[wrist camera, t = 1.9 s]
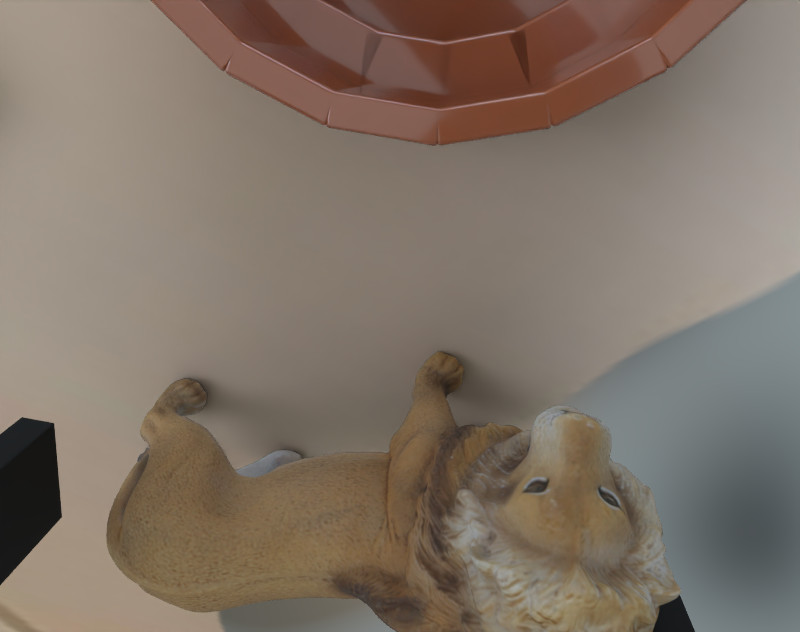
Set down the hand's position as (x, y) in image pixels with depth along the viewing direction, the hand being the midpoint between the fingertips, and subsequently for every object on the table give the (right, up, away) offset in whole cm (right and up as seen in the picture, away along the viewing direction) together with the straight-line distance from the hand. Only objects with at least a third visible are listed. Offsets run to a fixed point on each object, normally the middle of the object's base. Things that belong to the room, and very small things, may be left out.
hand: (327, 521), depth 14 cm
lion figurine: (+1, +2, +5) cm, 5 cm away
